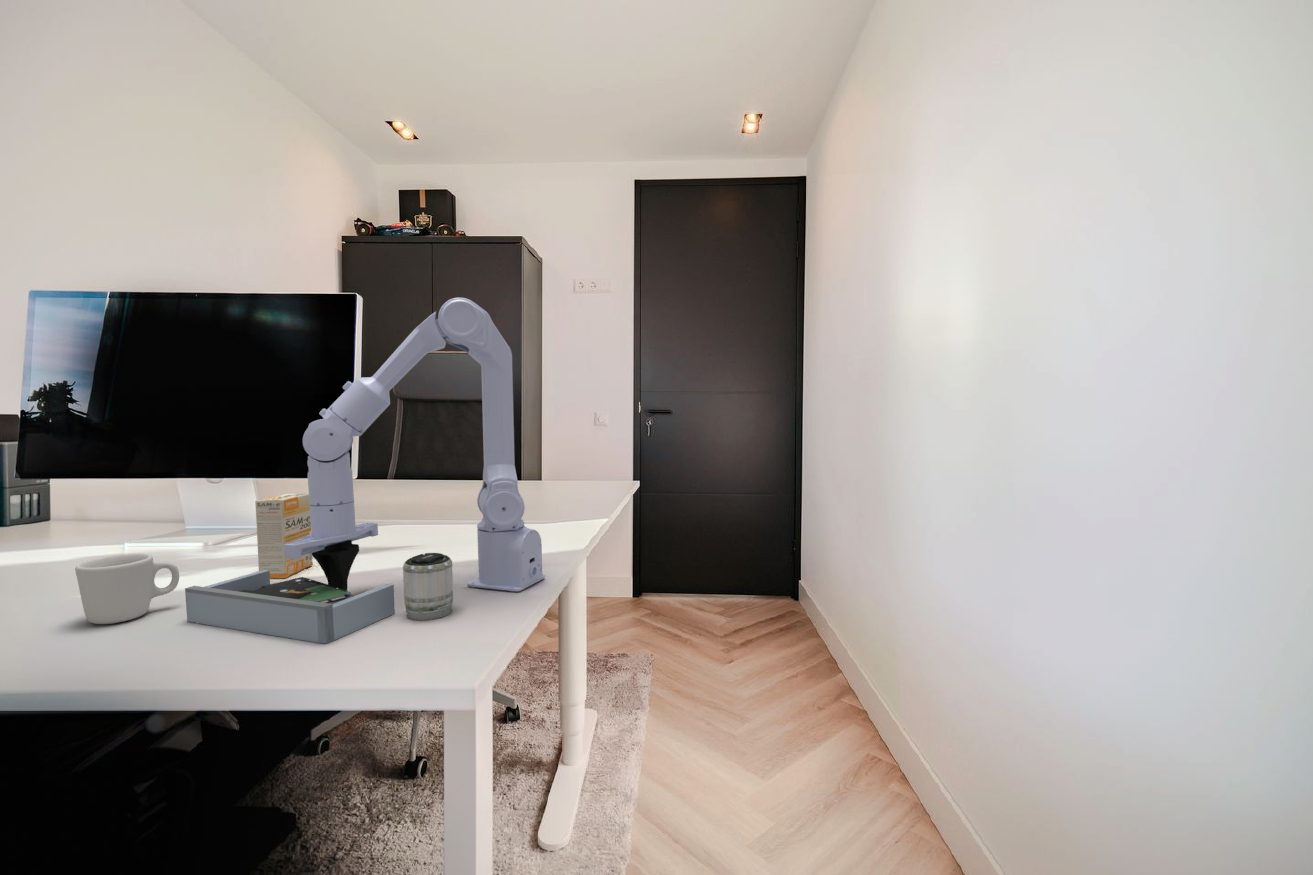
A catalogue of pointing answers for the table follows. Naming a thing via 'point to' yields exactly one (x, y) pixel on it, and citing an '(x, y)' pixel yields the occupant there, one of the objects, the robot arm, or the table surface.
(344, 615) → the frame
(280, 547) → the supplement box
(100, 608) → the cup
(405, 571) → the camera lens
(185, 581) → the table surface
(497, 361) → the robot arm
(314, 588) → the disk drive
